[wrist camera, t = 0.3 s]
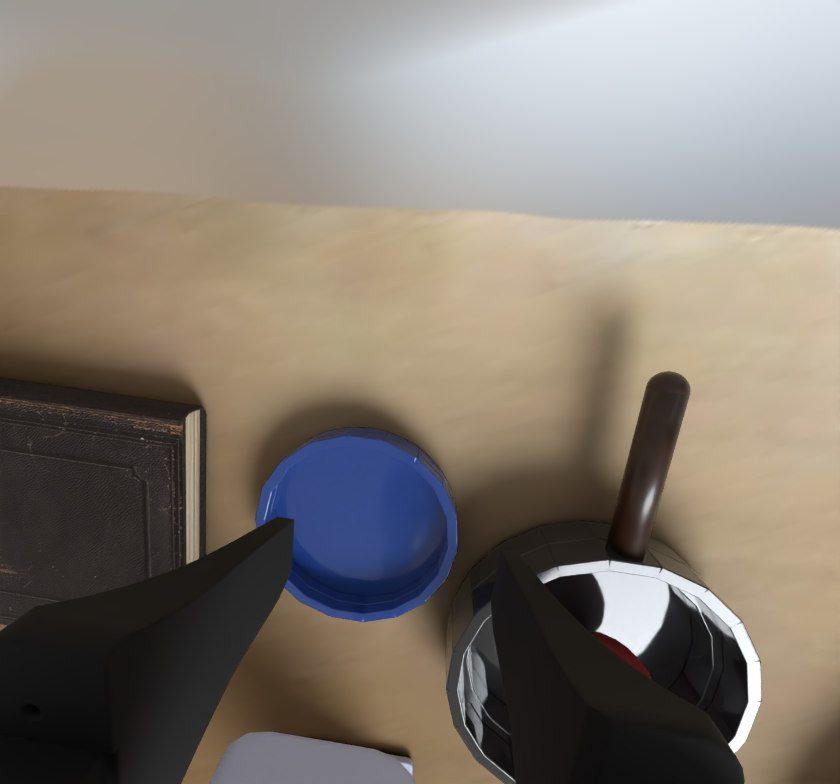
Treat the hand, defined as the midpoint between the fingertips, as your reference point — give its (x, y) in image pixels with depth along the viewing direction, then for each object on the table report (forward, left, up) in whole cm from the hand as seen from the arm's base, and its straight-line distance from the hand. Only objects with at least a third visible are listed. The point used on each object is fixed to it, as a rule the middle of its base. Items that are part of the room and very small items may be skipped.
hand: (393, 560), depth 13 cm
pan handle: (+2, -12, -8) cm, 14 cm away
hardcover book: (-7, +24, -10) cm, 27 cm away
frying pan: (-11, -12, -10) cm, 19 cm away
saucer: (-5, +3, -10) cm, 11 cm away
